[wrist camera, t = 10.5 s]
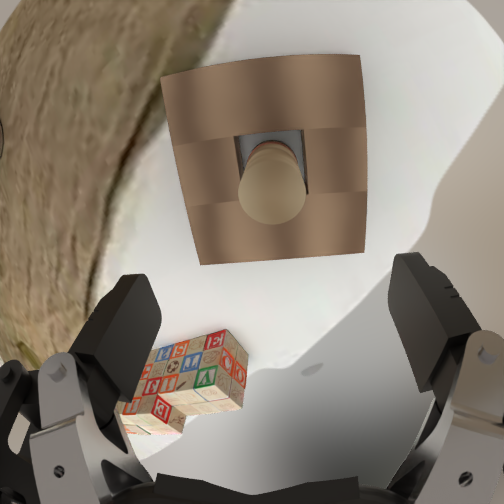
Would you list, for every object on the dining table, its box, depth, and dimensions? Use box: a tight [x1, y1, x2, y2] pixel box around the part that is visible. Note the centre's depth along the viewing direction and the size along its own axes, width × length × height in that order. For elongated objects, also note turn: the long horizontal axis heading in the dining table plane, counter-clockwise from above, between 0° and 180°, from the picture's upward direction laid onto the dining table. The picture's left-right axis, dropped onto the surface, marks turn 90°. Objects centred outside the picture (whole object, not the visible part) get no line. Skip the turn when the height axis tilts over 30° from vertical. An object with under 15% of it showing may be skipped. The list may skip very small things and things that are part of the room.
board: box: [160, 54, 367, 265], centre depth 24 cm, size 16×18×3 cm
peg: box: [238, 140, 306, 225], centre depth 21 cm, size 4×4×10 cm
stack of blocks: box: [115, 330, 248, 435], centre depth 36 cm, size 21×6×12 cm, turn 118°
